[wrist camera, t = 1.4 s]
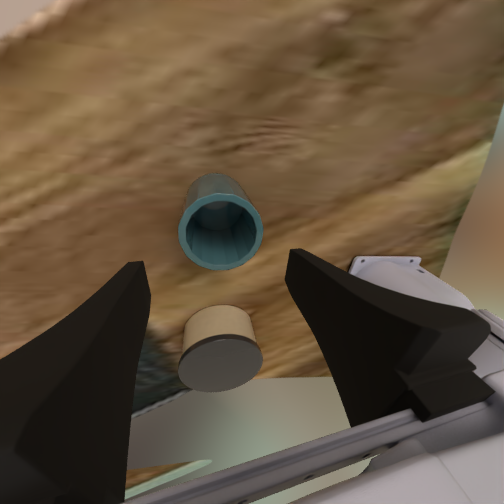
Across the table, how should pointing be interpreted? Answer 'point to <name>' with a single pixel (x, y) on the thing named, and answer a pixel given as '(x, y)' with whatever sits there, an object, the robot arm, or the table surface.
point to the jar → (219, 350)
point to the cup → (219, 223)
